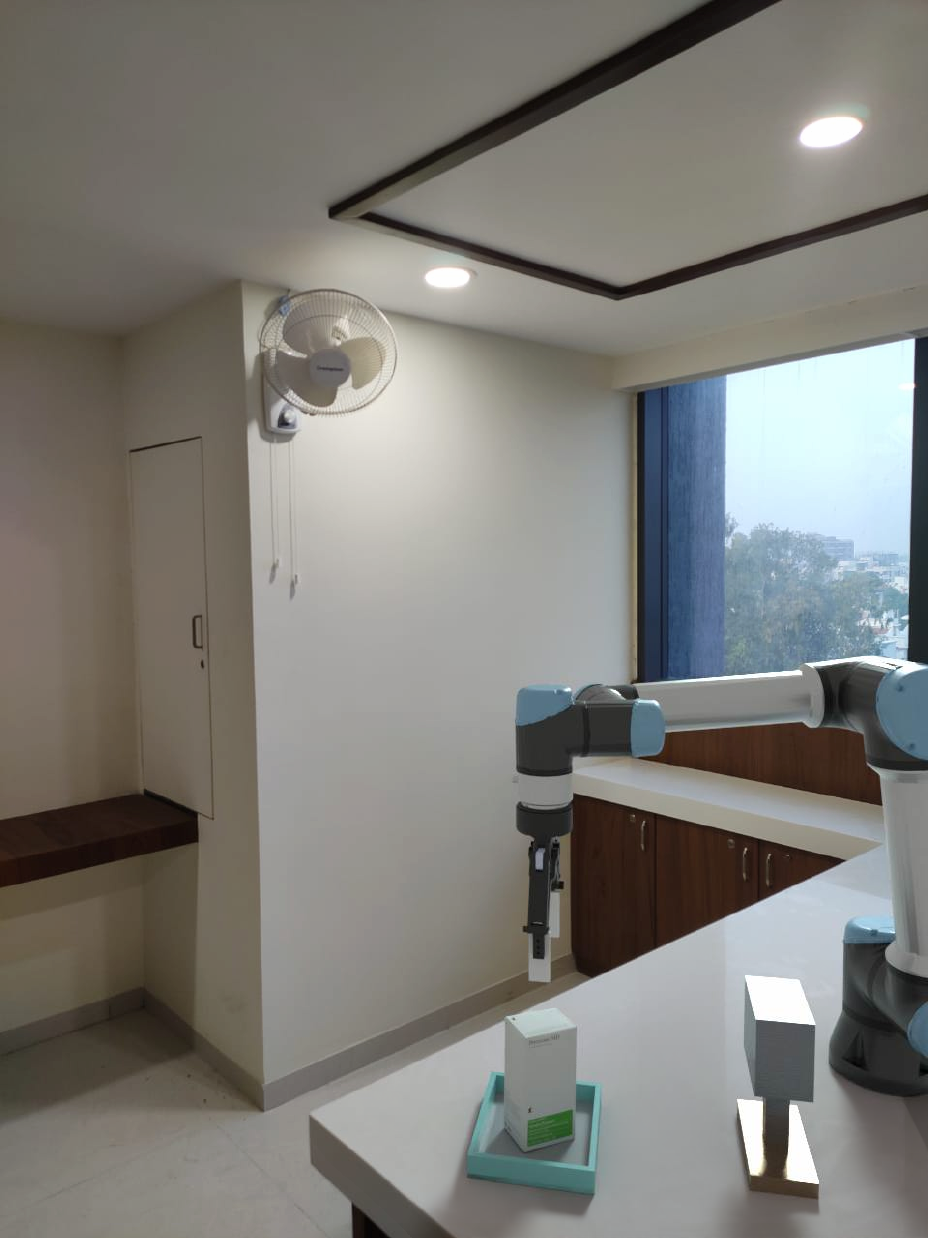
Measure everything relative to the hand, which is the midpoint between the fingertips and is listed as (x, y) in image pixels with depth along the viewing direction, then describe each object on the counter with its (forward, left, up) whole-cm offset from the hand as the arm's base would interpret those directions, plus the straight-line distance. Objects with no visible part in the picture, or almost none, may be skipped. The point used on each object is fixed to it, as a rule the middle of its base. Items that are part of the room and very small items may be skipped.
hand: (544, 957), depth 121 cm
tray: (+1, +1, -25) cm, 25 cm away
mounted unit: (-30, -2, -25) cm, 39 cm away
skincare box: (+1, 0, -25) cm, 24 cm away
